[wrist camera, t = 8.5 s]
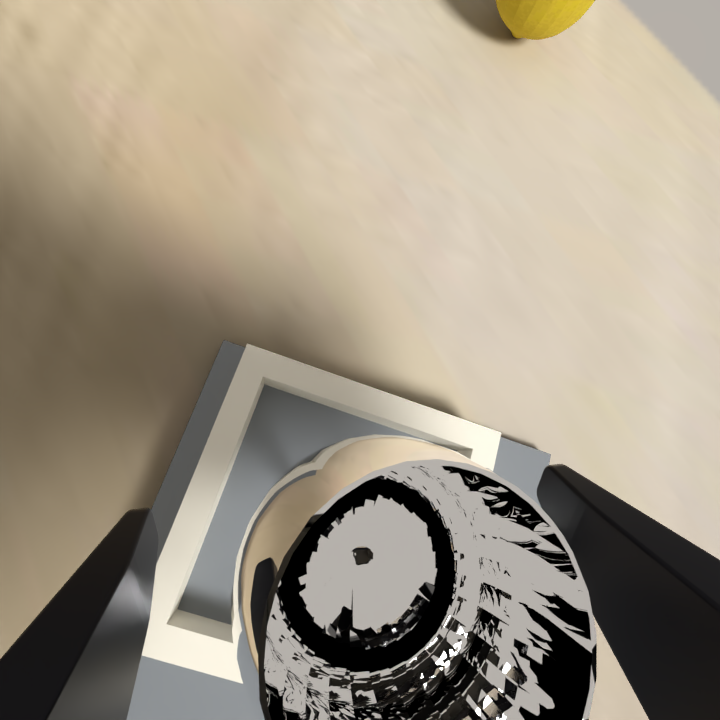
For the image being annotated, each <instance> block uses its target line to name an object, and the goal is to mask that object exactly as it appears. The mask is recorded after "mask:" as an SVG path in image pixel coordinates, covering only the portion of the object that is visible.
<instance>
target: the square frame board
mask: <svg viewBox="0 0 720 720" xmlns="http://www.w3.org/2000/svg"><path fill="white" fill-rule="evenodd" d="M374 434H377V435H399V436H407V437H412V438H417V439H422V440H425V441H428V442H431V443H433V444H436V445H439V446H442V447H445V448H448V449H451V450H454V451H456V452H458V453H460V454H462V455H464V456H466V457H467V458H469V459H471V460H473V461H475V462H477V463H479V464H481V465H483V466H485V467H487V468H488V469H490V470H492V471H493V472H495V473H496V474H498V475H499V476H501V477H503V478H504V479H506V480H507V481H509V482H511V483H512V484H514V485H515V486H517V487H518V488H519V489H520V490H522V491H523V492H524V493H525V494H527V495H528V496H529V497H530V498H531V499H533V500H534V501H535V502H536V503H537V504H538V505H539V506H540V507H541V505H540V503H539V501H538V498H537V486H538V484H539V481H540V478H541V476H542V473H543V470H544V468H545V467H546V466H548V465H549V462H550V456H551V454H548V453H545V452H543V451H540V450H537V449H534V448H531V447H528V446H525V445H523V444H520V443H517V442H514V441H511V440H508V439H505V438H503V437H501V432H498V431H495V430H492V429H490V428H487V427H484V426H481V425H478V424H475V423H473V422H470V421H467V420H464V419H461V418H458V417H455V416H453V415H450V414H447V413H444V412H441V411H438V410H436V409H433V408H430V407H427V406H424V405H421V404H418V403H416V402H413V401H410V400H407V399H404V398H401V397H399V396H396V395H393V394H390V393H387V392H384V391H381V390H379V389H376V388H373V387H370V386H367V385H364V384H361V383H359V382H356V381H353V380H350V379H347V378H344V377H342V376H339V375H336V374H333V373H330V372H327V371H324V370H322V369H319V368H316V367H313V366H310V365H307V364H305V363H302V362H299V361H296V360H293V359H290V358H287V357H285V356H282V355H279V354H276V353H273V352H270V351H268V350H265V349H262V348H259V347H256V346H253V345H250V344H248V343H247V345H246V347H243V346H240V345H237V344H234V343H231V342H228V341H226V340H224V341H223V343H222V345H221V348H220V350H219V352H218V355H217V357H216V359H215V362H214V364H213V366H212V369H211V371H210V373H209V376H208V378H207V380H206V383H205V385H204V387H203V390H202V392H201V394H200V397H199V399H198V401H197V404H196V406H195V408H194V411H193V413H192V415H191V418H190V420H189V422H188V425H187V427H186V429H185V432H184V434H183V436H182V439H181V441H180V443H179V446H178V448H177V450H176V453H175V455H174V457H173V460H172V462H171V464H170V467H169V469H168V471H167V474H166V476H165V478H164V481H163V483H162V485H161V488H160V490H159V492H158V495H157V497H156V499H155V502H154V504H153V506H152V509H151V511H152V513H153V516H154V520H155V524H156V527H157V531H158V536H159V544H158V553H157V562H156V570H155V579H154V587H153V596H152V604H151V612H150V619H149V624H148V629H147V634H146V638H145V643H144V647H143V651H142V656H141V660H140V664H139V668H138V673H137V677H136V681H135V686H134V690H133V694H132V698H131V703H130V707H129V711H128V716H127V720H257V719H256V717H255V715H254V712H253V710H252V708H251V706H250V704H249V701H248V698H247V695H246V691H245V688H244V685H243V682H242V678H241V675H240V672H239V668H238V665H237V661H236V655H235V650H234V644H233V637H232V617H231V596H230V593H231V585H232V578H233V572H234V567H235V562H236V557H237V553H238V549H239V545H240V542H241V539H242V537H243V534H244V532H245V530H246V527H247V525H248V523H249V521H250V519H251V516H252V514H253V512H254V511H255V509H256V507H257V505H258V504H259V502H260V501H261V500H262V498H263V497H264V495H265V494H266V493H267V491H268V490H269V489H270V487H271V486H272V485H273V484H274V483H275V482H276V480H277V479H278V478H279V477H280V476H281V475H282V474H284V473H285V472H286V471H287V470H288V469H289V468H290V467H292V466H293V465H294V464H295V463H297V462H298V461H299V460H301V459H302V458H304V457H305V456H307V455H309V454H311V453H312V452H314V451H316V450H318V449H320V448H322V447H324V446H326V445H328V444H332V443H335V442H338V441H342V440H345V439H348V438H352V437H358V436H366V435H374Z"/></svg>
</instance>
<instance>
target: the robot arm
mask: <svg viewBox="0 0 720 720" xmlns="http://www.w3.org/2000/svg"><path fill="white" fill-rule="evenodd" d="M537 498H538V501H539V503H540V505H541V508H542V509H543V510H544V512H545V513H546V514H547V515H548V516H549V517H550V518H551V519H552V521H553V522H554V523H555V525H556V526H557V527H558V529H559V530H560V532H561V533H562V534H563V536H564V538H565V539H566V541H567V543H568V544H569V546H570V548H571V550H572V551H573V554H574V556H575V559H576V561H577V564H578V566H579V569H580V571H581V574H582V576H583V579H584V581H585V584H586V586H587V589H588V592H589V597H590V602H591V608H592V613H593V616H594V617H595V619H596V621H597V623H598V625H599V627H600V629H601V631H602V632H603V634H604V636H605V638H606V640H607V642H608V644H609V645H610V647H611V649H612V651H613V653H614V655H615V657H616V658H617V660H618V662H619V664H620V666H621V668H622V670H623V672H624V673H625V675H626V677H627V679H628V681H629V683H630V685H631V686H632V688H633V690H634V692H635V694H636V696H637V698H638V700H639V701H640V703H641V705H642V707H643V709H644V711H645V713H646V714H647V716H648V718H649V720H720V560H719V559H717V558H716V557H714V556H712V555H711V554H709V553H708V552H706V551H704V550H703V549H701V548H699V547H698V546H696V545H695V544H693V543H691V542H690V541H688V540H686V539H685V538H683V537H681V536H680V535H678V534H677V533H675V532H673V531H672V530H670V529H668V528H667V527H665V526H664V525H662V524H660V523H659V522H657V521H655V520H654V519H652V518H650V517H649V516H647V515H646V514H644V513H642V512H641V511H639V510H637V509H636V508H634V507H633V506H631V505H629V504H628V503H626V502H624V501H623V500H621V499H619V498H618V497H616V496H615V495H613V494H611V493H610V492H608V491H606V490H605V489H603V488H602V487H600V486H598V485H597V484H595V483H593V482H592V481H590V480H588V479H587V478H585V477H584V476H582V475H580V474H579V473H577V472H575V471H574V470H572V469H571V468H569V467H567V466H565V465H563V464H555V465H548V466H546V467H545V468H544V470H543V473H542V476H541V478H540V481H539V484H538V486H537ZM158 544H159V536H158V531H157V527H156V524H155V520H154V516H153V513H152V511H151V509H149V508H141V509H132V510H129V511H128V512H126V514H125V515H124V516H123V517H122V518H121V519H120V520H119V522H118V523H117V524H116V525H115V526H114V527H113V529H112V530H111V531H110V532H109V533H108V534H107V536H106V537H105V538H104V539H103V540H102V541H101V543H100V544H99V545H98V546H97V547H96V548H95V550H94V551H93V552H92V553H91V554H90V555H89V557H88V558H87V559H86V560H85V561H84V562H83V563H82V565H81V566H80V567H79V568H78V569H77V570H76V572H75V573H74V574H73V575H72V576H71V577H70V579H69V580H68V581H67V582H66V583H65V584H64V586H63V587H62V588H61V589H60V590H59V591H58V593H57V594H56V595H55V596H54V597H53V598H52V600H51V601H50V602H49V603H48V604H47V605H46V607H45V608H44V609H43V610H42V611H41V612H40V614H39V615H38V616H37V617H36V618H35V619H34V621H33V622H32V623H31V624H30V625H29V626H28V627H27V629H26V630H25V631H24V632H23V633H22V634H21V636H20V637H19V638H18V639H17V640H16V641H15V643H14V644H13V645H12V646H11V647H10V648H9V650H8V651H7V652H6V653H5V654H4V655H3V657H2V658H1V659H0V720H127V716H128V711H129V707H130V703H131V698H132V694H133V690H134V686H135V681H136V677H137V673H138V668H139V664H140V660H141V656H142V651H143V647H144V643H145V638H146V634H147V629H148V624H149V619H150V612H151V604H152V596H153V587H154V579H155V570H156V562H157V553H158Z"/></svg>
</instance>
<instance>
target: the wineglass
mask: <svg viewBox="0 0 720 720" xmlns="http://www.w3.org/2000/svg"><path fill="white" fill-rule="evenodd" d="M230 596H231V617H232V637H233V644H234V650H235V655H236V661H237V665H238V668H239V672H240V675H241V678H242V682H243V685H244V688H245V691H246V695H247V698H248V701H249V704H250V706H251V708H252V710H253V712H254V715H255V717H256V719H257V720H589V715H590V709H591V704H592V698H593V693H594V688H595V682H596V629H595V624H594V619H593V613H592V608H591V602H590V597H589V592H588V589H587V586H586V584H585V581H584V579H583V576H582V574H581V571H580V569H579V566H578V564H577V561H576V559H575V556H574V554H573V551H572V550H571V548H570V546H569V544H568V543H567V541H566V539H565V538H564V536H563V534H562V533H561V532H560V530H559V529H558V527H557V526H556V525H555V523H554V522H553V521H552V519H551V518H550V517H549V516H548V515H547V514H546V513H545V512H544V510H543V509H542V508H541V507H540V506H539V505H538V504H537V503H536V502H535V501H534V500H533V499H531V498H530V497H529V496H528V495H527V494H525V493H524V492H523V491H522V490H520V489H519V488H518V487H517V486H515V485H514V484H512V483H511V482H509V481H507V480H506V479H504V478H503V477H501V476H499V475H498V474H496V473H495V472H493V471H492V470H490V469H488V468H487V467H485V466H483V465H481V464H479V463H477V462H475V461H473V460H471V459H469V458H467V457H466V456H464V455H462V454H460V453H458V452H456V451H454V450H451V449H448V448H445V447H442V446H439V445H436V444H433V443H431V442H428V441H425V440H422V439H417V438H412V437H407V436H399V435H377V434H374V435H366V436H358V437H352V438H348V439H345V440H342V441H338V442H335V443H332V444H328V445H326V446H324V447H322V448H320V449H318V450H316V451H314V452H312V453H311V454H309V455H307V456H305V457H304V458H302V459H301V460H299V461H298V462H297V463H295V464H294V465H293V466H292V467H290V468H289V469H288V470H287V471H286V472H285V473H284V474H282V475H281V476H280V477H279V478H278V479H277V480H276V482H275V483H274V484H273V485H272V486H271V487H270V489H269V490H268V491H267V493H266V494H265V495H264V497H263V498H262V500H261V501H260V502H259V504H258V505H257V507H256V509H255V511H254V512H253V514H252V516H251V519H250V521H249V523H248V525H247V527H246V530H245V532H244V534H243V537H242V539H241V542H240V545H239V549H238V553H237V557H236V562H235V567H234V572H233V578H232V585H231V593H230Z"/></svg>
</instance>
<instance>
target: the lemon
mask: <svg viewBox="0 0 720 720" xmlns="http://www.w3.org/2000/svg"><path fill="white" fill-rule="evenodd" d="M594 1H595V0H496V5H497V9H498V11H499V14H500V16H501V19H502V20H503V22H504V23H505V25H506V26H507V27H508V28H509V29H510V30H511V33H512V35H513V36H514V37H515V38H522V37H523V38H527V39H534V40H539V39H545V38H549V37H552V36H555V35H557V34H559V33H561V32H562V31H564V30H566V29H567V28H569V27H570V26H572V25H573V24H574V23H575V22H576V21H578V20H579V19H580V18H581V17H582V16H583V15H584V13H585V12H586V11H587V10H588V9H589V7H590V6H591V5H592V4H593V2H594Z"/></svg>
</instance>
